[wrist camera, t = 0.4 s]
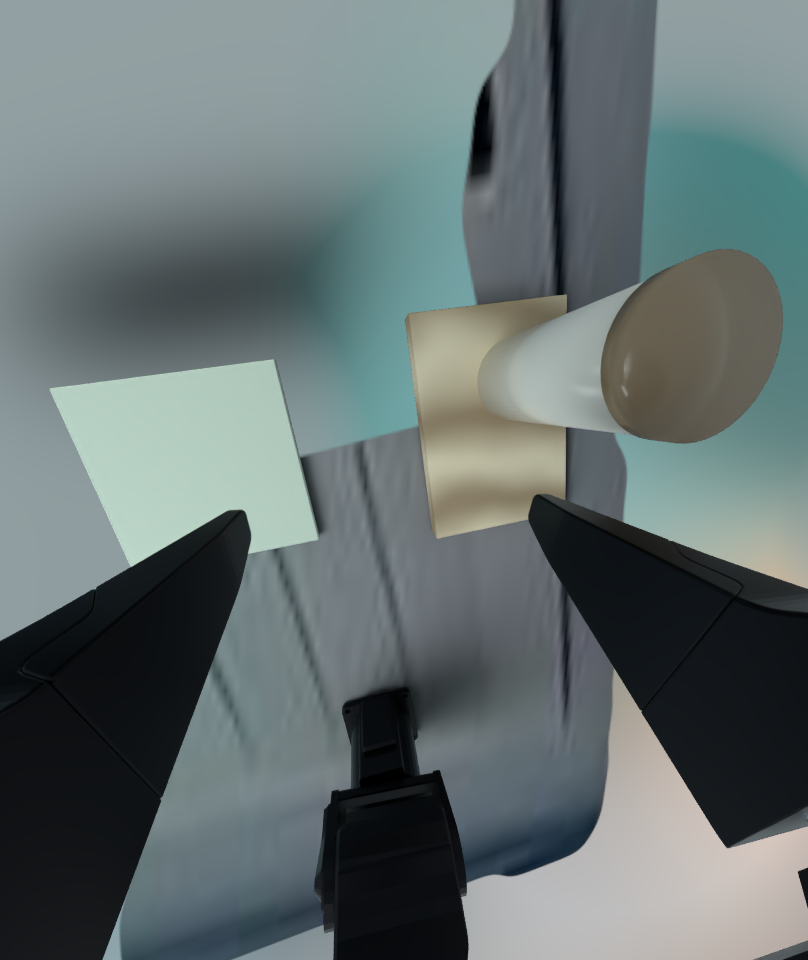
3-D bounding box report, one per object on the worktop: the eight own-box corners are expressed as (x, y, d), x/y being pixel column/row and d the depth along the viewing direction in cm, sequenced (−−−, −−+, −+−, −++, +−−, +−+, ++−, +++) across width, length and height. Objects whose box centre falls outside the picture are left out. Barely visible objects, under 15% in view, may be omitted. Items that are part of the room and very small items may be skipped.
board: (553, 505, 26) (565, 511, 25) (432, 530, 25) (436, 538, 23) (552, 301, 22) (566, 294, 20) (405, 319, 20) (408, 313, 19)
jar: (552, 414, 22) (763, 429, 11) (479, 427, 21) (620, 456, 10) (552, 330, 21) (800, 240, 9) (472, 340, 20) (632, 258, 8)
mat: (319, 536, 23) (318, 539, 23) (140, 571, 22) (135, 576, 21) (275, 360, 20) (273, 359, 19) (58, 389, 18) (49, 388, 18)
